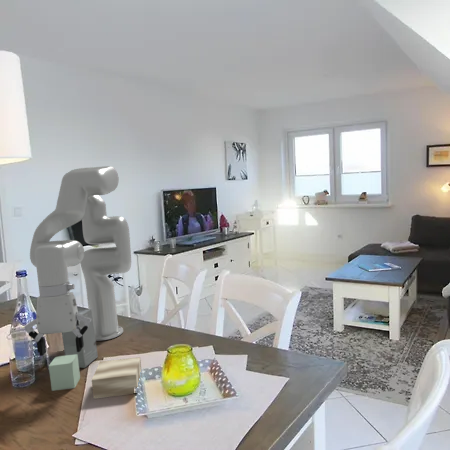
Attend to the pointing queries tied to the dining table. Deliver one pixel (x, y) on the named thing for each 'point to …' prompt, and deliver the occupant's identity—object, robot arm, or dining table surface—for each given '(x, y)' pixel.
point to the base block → (116, 377)
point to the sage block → (64, 372)
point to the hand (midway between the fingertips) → (61, 352)
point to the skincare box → (89, 349)
